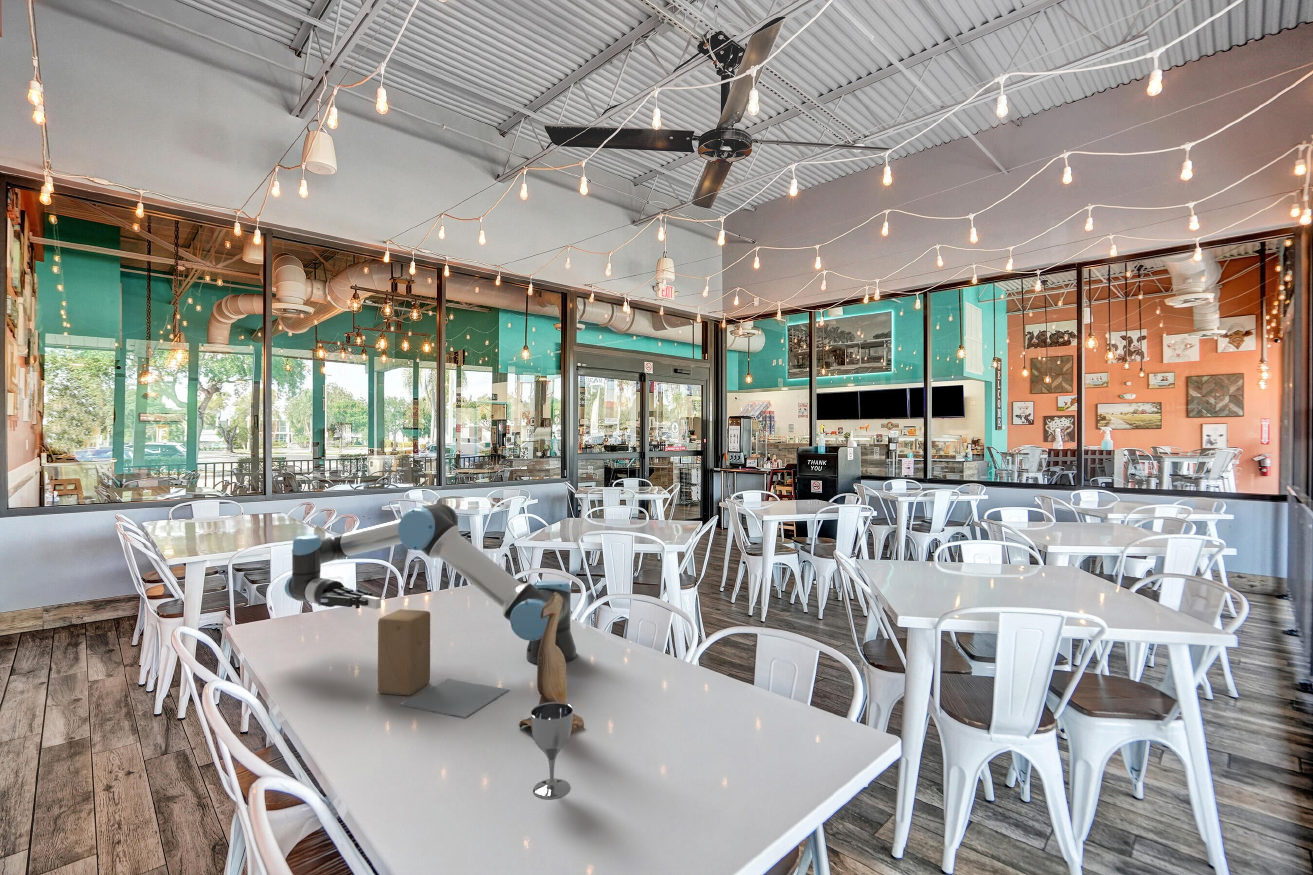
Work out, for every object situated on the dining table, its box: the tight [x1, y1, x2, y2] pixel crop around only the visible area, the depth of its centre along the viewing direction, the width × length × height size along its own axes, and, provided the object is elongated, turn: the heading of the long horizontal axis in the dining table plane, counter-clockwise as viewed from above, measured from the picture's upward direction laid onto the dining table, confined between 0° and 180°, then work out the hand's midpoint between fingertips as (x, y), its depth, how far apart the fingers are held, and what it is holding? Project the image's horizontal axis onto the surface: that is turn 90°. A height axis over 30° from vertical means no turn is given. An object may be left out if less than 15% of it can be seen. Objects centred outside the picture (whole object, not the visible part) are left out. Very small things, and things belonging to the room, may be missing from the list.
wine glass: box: [530, 702, 574, 800], centre depth 121 cm, size 8×8×15 cm
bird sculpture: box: [518, 592, 585, 734], centre depth 145 cm, size 11×12×32 cm
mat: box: [399, 678, 510, 719], centre depth 163 cm, size 20×18×1 cm
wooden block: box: [377, 608, 431, 696], centre depth 169 cm, size 10×10×20 cm
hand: (378, 603), depth 174 cm, fingers closed
